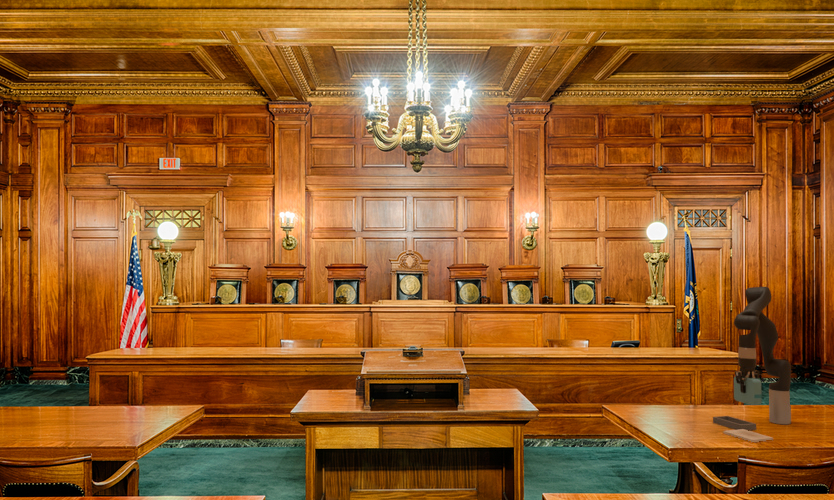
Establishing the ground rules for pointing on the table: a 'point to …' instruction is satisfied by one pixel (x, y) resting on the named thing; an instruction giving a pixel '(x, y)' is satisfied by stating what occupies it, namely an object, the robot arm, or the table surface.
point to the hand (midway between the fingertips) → (747, 392)
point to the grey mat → (747, 435)
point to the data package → (748, 391)
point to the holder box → (734, 423)
